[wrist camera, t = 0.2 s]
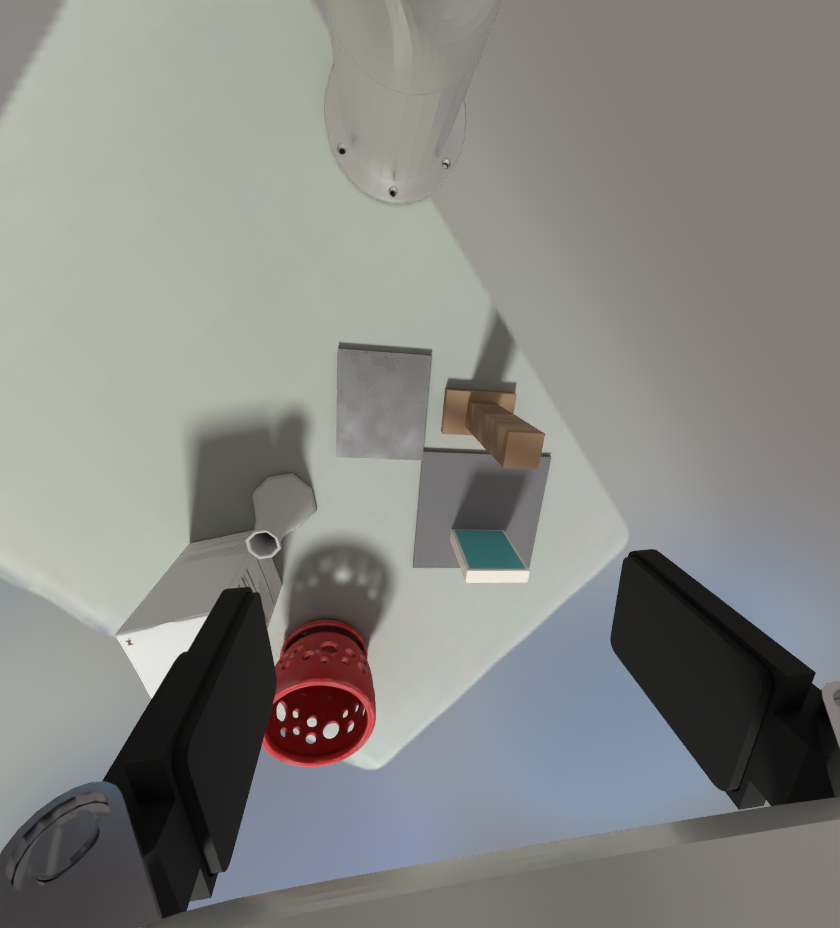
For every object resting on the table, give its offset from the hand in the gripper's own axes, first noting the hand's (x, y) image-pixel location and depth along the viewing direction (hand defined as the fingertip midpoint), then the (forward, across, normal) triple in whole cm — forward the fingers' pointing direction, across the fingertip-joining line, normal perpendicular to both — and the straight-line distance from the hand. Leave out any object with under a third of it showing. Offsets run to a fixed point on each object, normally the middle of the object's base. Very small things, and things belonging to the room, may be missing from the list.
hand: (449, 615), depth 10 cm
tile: (+36, -10, +18) cm, 41 cm away
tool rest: (+36, +1, +1) cm, 36 cm away
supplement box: (+36, +20, +20) cm, 46 cm away
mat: (+36, -11, +16) cm, 41 cm away
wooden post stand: (+36, -10, +2) cm, 37 cm away
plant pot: (+36, +11, +34) cm, 51 cm away
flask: (+36, +13, +12) cm, 40 cm away
